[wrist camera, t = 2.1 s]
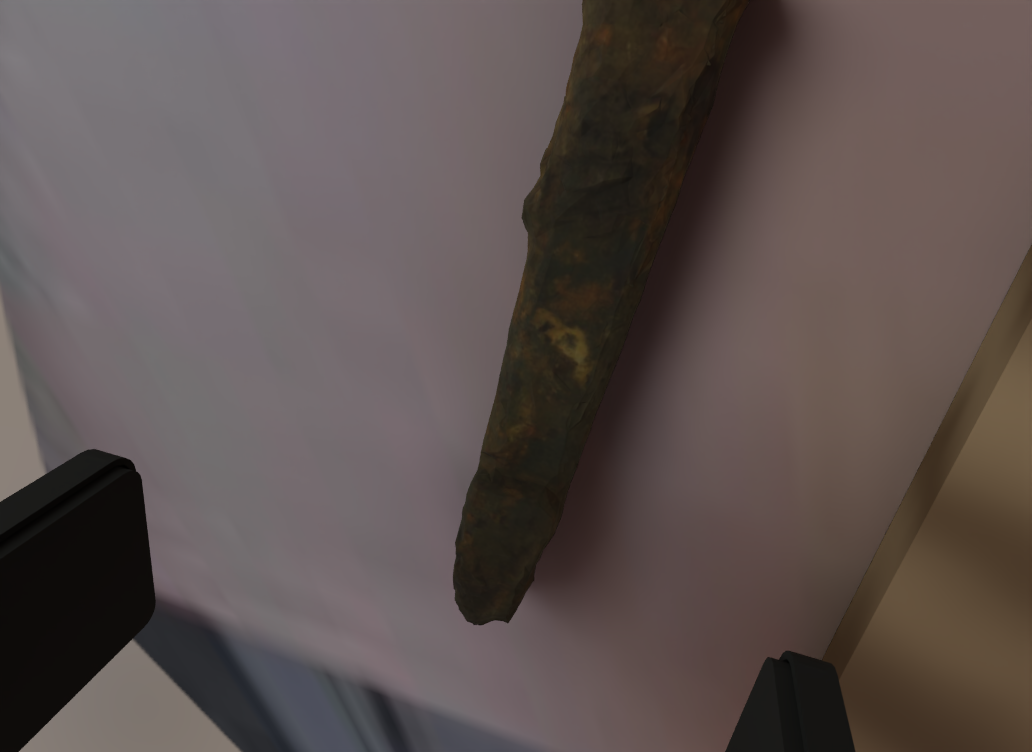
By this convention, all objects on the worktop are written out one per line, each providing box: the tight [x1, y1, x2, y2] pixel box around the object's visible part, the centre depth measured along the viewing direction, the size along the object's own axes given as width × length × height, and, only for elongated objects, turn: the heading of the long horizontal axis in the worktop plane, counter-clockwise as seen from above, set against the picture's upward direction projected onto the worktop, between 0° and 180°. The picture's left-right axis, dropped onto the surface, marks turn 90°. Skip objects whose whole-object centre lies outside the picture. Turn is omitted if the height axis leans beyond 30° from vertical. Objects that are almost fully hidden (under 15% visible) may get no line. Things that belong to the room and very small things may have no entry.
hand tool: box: [453, 0, 750, 625], centre depth 17 cm, size 19×4×5 cm, turn 163°
